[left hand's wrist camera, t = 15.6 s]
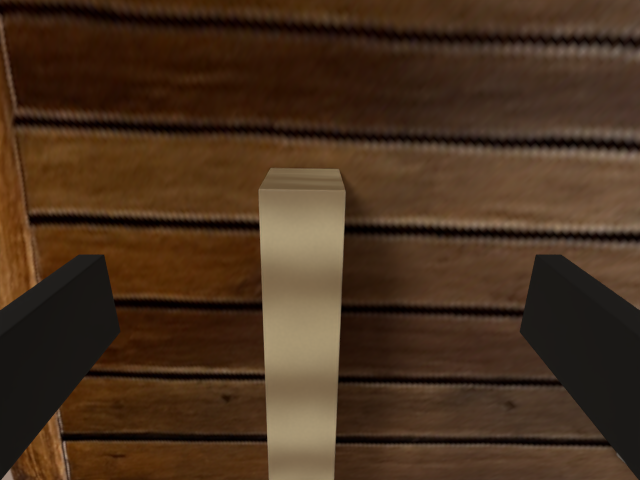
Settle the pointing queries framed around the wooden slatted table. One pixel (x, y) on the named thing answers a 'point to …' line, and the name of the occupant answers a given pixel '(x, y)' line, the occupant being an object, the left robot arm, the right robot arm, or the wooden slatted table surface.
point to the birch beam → (301, 317)
